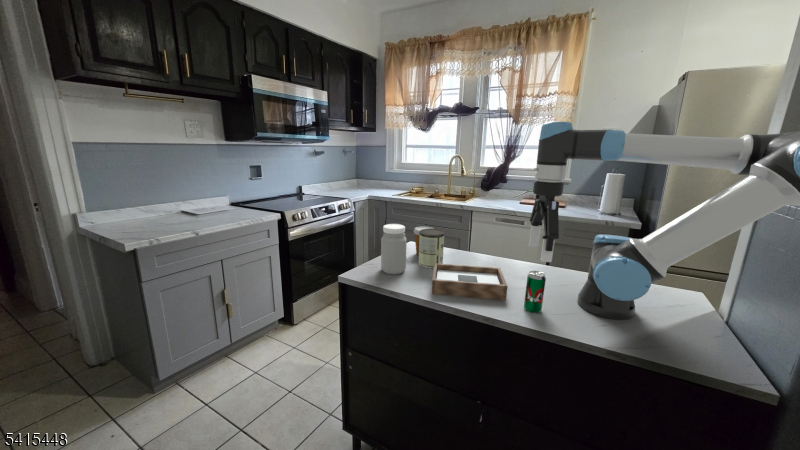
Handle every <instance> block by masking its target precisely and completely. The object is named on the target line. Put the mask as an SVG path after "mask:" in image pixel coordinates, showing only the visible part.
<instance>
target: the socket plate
mask: <svg viewBox="0 0 800 450" xmlns="http://www.w3.org/2000/svg"><path fill="white" fill-rule="evenodd" d="M436 279H440V280H452V281H465V282H478V283H490V284H500V283H499V280H498V277H497V274H489V273H475V272H462V271H448V270H438V271H437V277H436Z"/></svg>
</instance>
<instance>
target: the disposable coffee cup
mask: <svg viewBox="0 0 800 450" xmlns="http://www.w3.org/2000/svg"><path fill="white" fill-rule="evenodd" d="M422 229H434V227H430V226H422V225H421V226H416V227H414V230H413V234H414V241H415V252H416V255H417V256H418V257H419V236H420V233H419V231H420V230H422Z"/></svg>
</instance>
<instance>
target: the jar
mask: <svg viewBox="0 0 800 450" xmlns="http://www.w3.org/2000/svg"><path fill="white" fill-rule="evenodd" d="M382 231H383V233H382V236H381V238H380V241H381V242H380V269H381V270H382V271H383V272H384V273H385V274H387V275H400V274H402V273H403V272H404V271H406V268H407V241H408V239H407V237H406V233H405V232H406V226H405V225H403V224H400V223H388V224H384V225H383V227H382Z"/></svg>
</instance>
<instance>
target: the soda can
mask: <svg viewBox="0 0 800 450" xmlns="http://www.w3.org/2000/svg"><path fill="white" fill-rule="evenodd" d="M526 277H527V278H526V286H525V293H524V301H523V308H524V310H525V311H527V312H528V313H531V314H539V313H540V312H542V309H543V303H544V295H545V287H546V280H547V278H546V273H545V272H542V271H539V270H530V271H529V273H528V274H527V276H526Z"/></svg>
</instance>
